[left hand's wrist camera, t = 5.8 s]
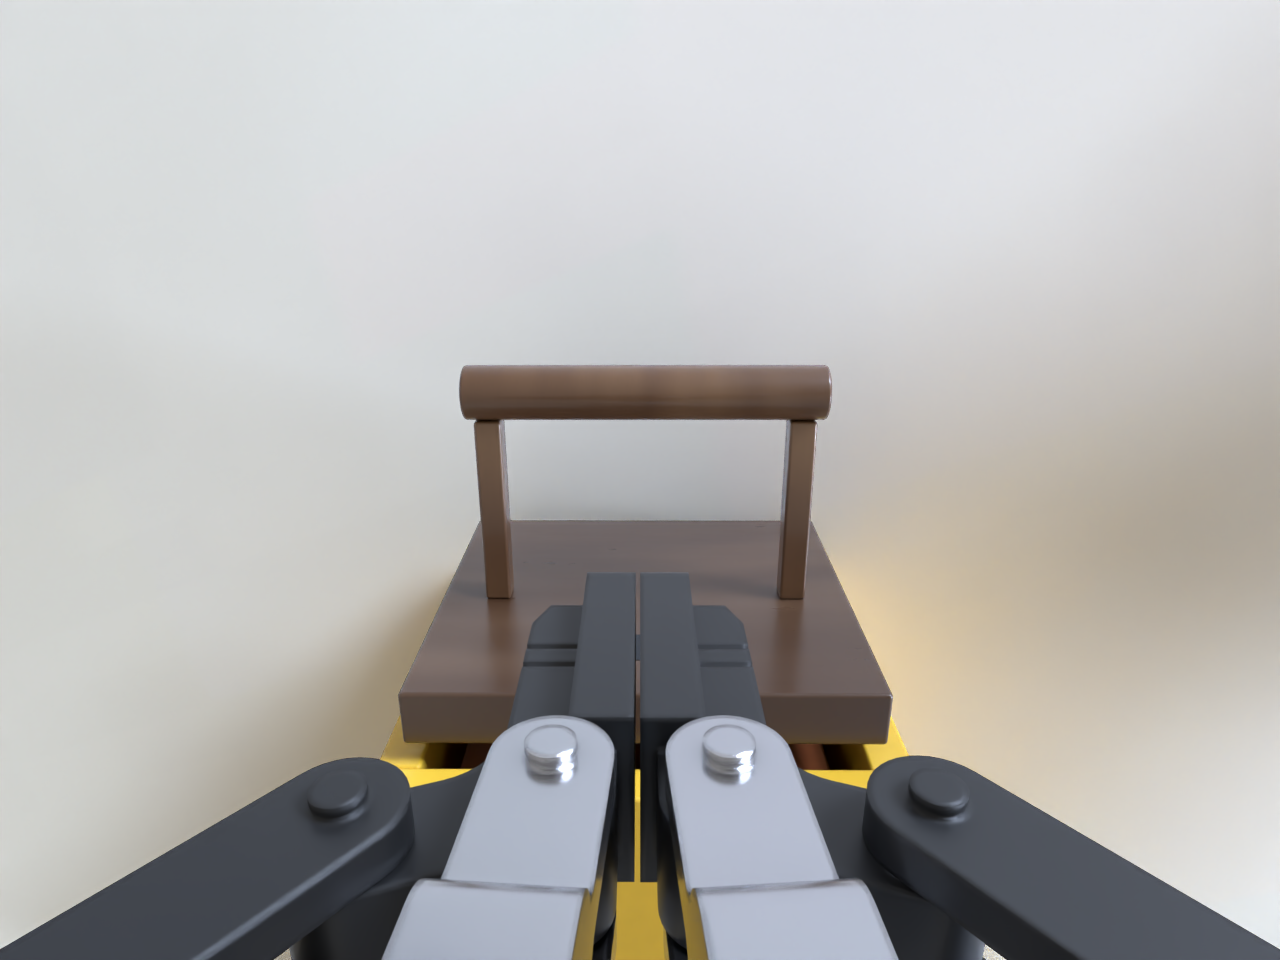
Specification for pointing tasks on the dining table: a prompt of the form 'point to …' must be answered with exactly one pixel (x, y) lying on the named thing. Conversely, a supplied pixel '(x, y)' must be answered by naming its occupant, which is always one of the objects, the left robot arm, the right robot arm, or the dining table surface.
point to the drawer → (649, 561)
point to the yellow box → (637, 899)
